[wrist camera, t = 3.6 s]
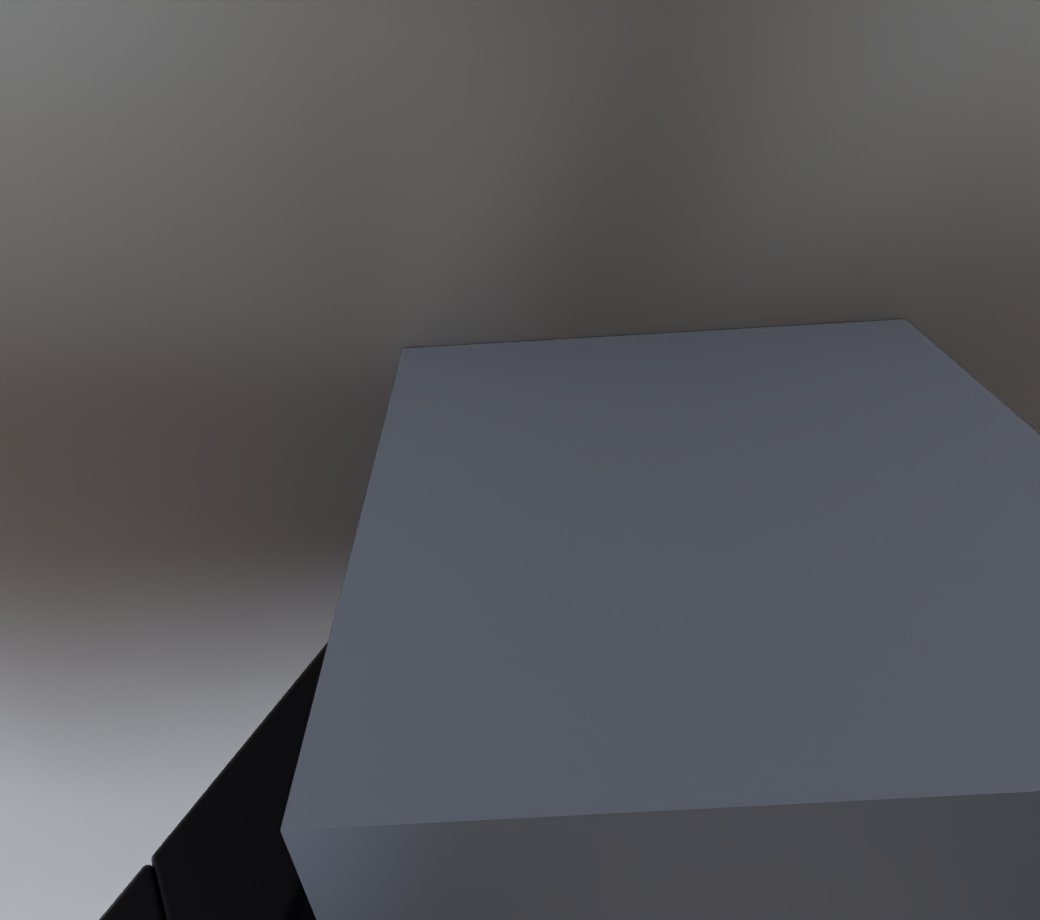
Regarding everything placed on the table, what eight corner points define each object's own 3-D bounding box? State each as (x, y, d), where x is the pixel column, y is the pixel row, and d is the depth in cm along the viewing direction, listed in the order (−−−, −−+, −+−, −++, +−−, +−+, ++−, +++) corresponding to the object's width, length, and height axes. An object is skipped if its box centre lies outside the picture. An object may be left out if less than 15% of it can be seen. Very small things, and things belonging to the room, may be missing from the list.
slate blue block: (454, 684, 10) (422, 1179, 6) (402, 347, 7) (280, 831, 3) (820, 664, 10) (1045, 1148, 6) (906, 318, 7) (1431, 772, 3)
